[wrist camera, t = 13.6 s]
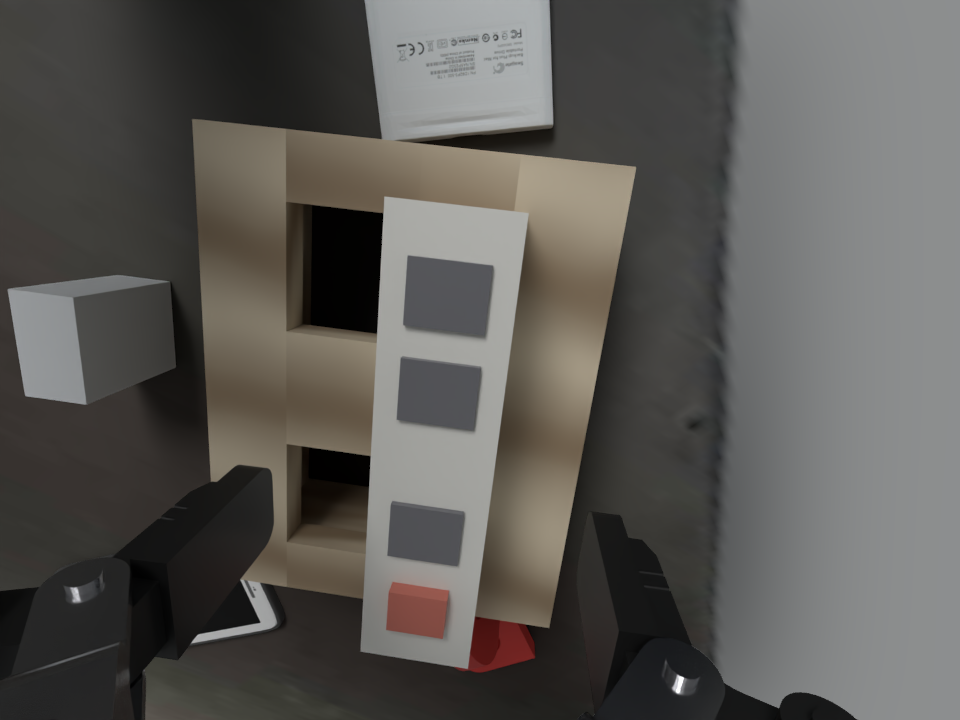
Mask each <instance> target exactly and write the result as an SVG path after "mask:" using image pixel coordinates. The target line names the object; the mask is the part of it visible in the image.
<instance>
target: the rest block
mask: <svg viewBox="0 0 960 720" xmlns="http://www.w3.org/2000/svg"><path fill="white" fill-rule="evenodd" d="M8 294H9V300H10V306H11V312H12V319H13V325H14V331H15V337H16V343H17V349H18V355H19V361H20V367H21V373H22V379H23V385H24V391H25V396H29V397H36V398H43V399H50V400H57V401H64V402H71V403H78V404H86V405H87V404H89V403H92V402H94V401H97V400H99V399H101V398H104V397H106V396H109V395H111V394H113V393H116V392H118V391H121V390H123V389H125V388H128V387H130V386H133V385H135V384H137V383H140V382H142V381H145V380H147V379H150V378H152V377H154V376H157V375H159V374H162V373H164V372H166V371H169V370H171V369H174V368H176V358H175V344H174V330H173V315H172V301H171V286H170V281H162V280H154V279H146V278H138V277H130V276H122V275H114V276H106V277H99V278H91V279H83V280H75V281H67V282H59V283H51V284H43V285H35V286H27V287H19V288H12V289H8Z"/></svg>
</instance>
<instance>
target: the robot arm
mask: <svg viewBox="0 0 960 720" xmlns="http://www.w3.org/2000/svg"><path fill="white" fill-rule="evenodd" d="M273 526H274V506H273V480H272V473H271V470H270V469H268V468H263V467H255V466H247V465H236V466H235V467H234V468H232V469H231V470H230V471H229V472H228V473H227V474H226V475H224V476H223V477H222V478H221V479H220V480H219V481H217V482H213V481H212V482H210V483H208V484H206V485H204V486H202V487H199V488H197V489H195V490H193V491H191V492H190V493H188V494H187V495H186V496H185V497H184V498H182V499H181V500H180V501H179V502H178V503H176V504H175V506H174V508H170V509H169V510H168V511H167V512H166V513H165V514H163V515H162V516H161V519H157V520H156V521H155V522H154V523H153V524H151V525H150V526H149V527H148V528H147V529H145V530H144V531H143V532H142V533H141V534H139V535H138V536H137V537H136V538H135V539H133V540H132V541H131V542H130V543H129V544H127V545H126V546H125V547H124V548H123V549H121V550H120V551H119V552H118V553H117V554H115V555H114V556H113V557H112V558H110V557H105V558H95V559H90V560H86V561H82V562H79V563H76V564H74V565H71V566H69V567H67V568H64V569H63V570H61V571H59V572H57V573H56V574H54V575H53V576H51V577H50V578H48V579H47V580H46V581H45V582H44V583H43V584H42V585H41V586H40V587H37V588H26V589H16V590H6V591H0V720H145V701H146V676H145V668H146V667H147V665H148V664H149V663H150V662H151V661H152V659H153V658H154V657H160V658H167V659H173V660H178V659H179V658H180V657H181V656H182V654H183V653H184V652H185V650H186V649H187V648H188V647H189V645H190V644H191V643H192V641H193V640H194V639H195V637H196V636H197V635H198V634H199V632H200V631H201V630H202V628H203V627H204V626H205V625H206V623H207V622H208V621H209V619H210V618H211V617H212V616H213V614H214V613H215V612H216V610H217V609H218V608H219V606H220V605H221V604H222V603H223V601H224V600H225V599H226V597H227V596H228V595H229V594H230V592H231V591H232V590H233V588H234V587H235V586H236V584H237V583H238V582H239V581H240V579H241V578H242V577H243V575H244V574H245V573H246V572H247V570H248V569H249V568H250V566H251V565H252V564H253V563H254V561H255V560H256V559H257V557H258V556H259V555H260V553H261V552H262V551H263V550H264V548H265V547H266V545H267V544H268V542H269V540H270V537H271V534H272V531H273ZM577 594H578V601H579V608H580V615H581V622H582V628H583V635H584V642H585V649H586V656H587V663H588V670H589V677H590V684H591V690H592V697H593V704H594V711H595V715H594V716H593V717H592V716H591V715H590V714H589V713H588V712H585V713H583V714H582V715H581V716H580V717H579V718H578V719H577V720H857V719H855V718H854V717H853V716H852V715H851V714H849V713H848V712H847V711H845V710H844V709H842V708H841V707H839V706H838V705H836V704H834V703H833V702H831V701H829V700H826V699H824V698H822V697H819V696H816V695H813V694H809V693H801V692H800V693H792V694H789V695H787V696H786V697H785V698H784V699H783V700H782V703H781V705H780V708H777V707H774V706H772V705H769V704H767V703H765V702H762V701H760V700H757V699H755V698H753V697H750V696H748V695H745V694H743V693H741V692H739V691H737V690H735V689H733V688H731V687H730V686H728V685H726V684H725V683H724V682H723V679H722V676H721V674H720V673H719V671H718V669H717V668H716V666H715V665H714V664H713V663H712V662H711V660H710V659H709V658H708V657H707V656H705V655H704V654H703V653H702V652H701V651H699V650H698V649H696V648H695V647H693V646H692V645H691V642H690V640H689V637H688V635H687V632H686V629H685V627H684V624H683V622H682V619H681V617H680V614H679V612H678V609H677V607H676V604H675V601H674V599H673V596H672V594H671V591H669V586H668V584H667V581H666V579H665V577H663V571H662V568H661V566H660V563H659V561H658V558H657V556H656V555H655V554H654V553H653V551H652V550H651V549H650V548H649V547H648V546H647V545H646V544H645V543H644V542H643V541H642V540H639V539H632V538H628V536H627V533H626V530H625V527H624V524H623V521H622V518H621V516H620V515H613V514H606V513H598V512H591V511H589V513H588V515H587V518H586V523H585V528H584V534H583V539H582V544H581V550H580V555H579V560H578V567H577Z"/></svg>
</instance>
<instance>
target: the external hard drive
mask: <svg viewBox="0 0 960 720" xmlns="http://www.w3.org/2000/svg"><path fill="white" fill-rule="evenodd" d="M365 7H366V15H367V23H368V31H369V39H370V47H371V55H372V63H373V71H374V79H375V87H376V95H377V102H378V110H379V118H380V127H381V134H382V139H383V140H392V141H401V142H411V143H412V142H421V141H431V140H441V139H450V138H454V137H459V136H469V135H479V134H482V135H490V134H500V133H510V132H520V131H530V130H540V129H550V128H552V127H553V98H552V66H551V32H550V0H365Z"/></svg>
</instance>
